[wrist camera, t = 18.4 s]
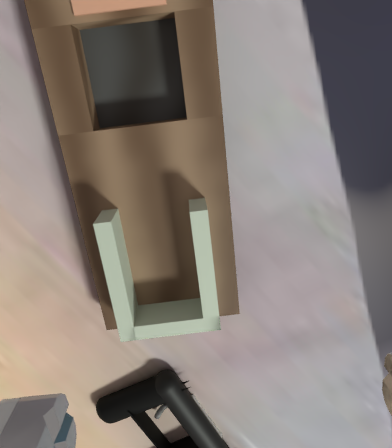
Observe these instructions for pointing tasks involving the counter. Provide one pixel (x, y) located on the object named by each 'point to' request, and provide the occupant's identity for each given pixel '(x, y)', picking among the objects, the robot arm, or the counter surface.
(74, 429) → the robot arm
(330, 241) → the counter surface
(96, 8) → the tile
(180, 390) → the door handle
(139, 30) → the board
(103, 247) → the cubby
